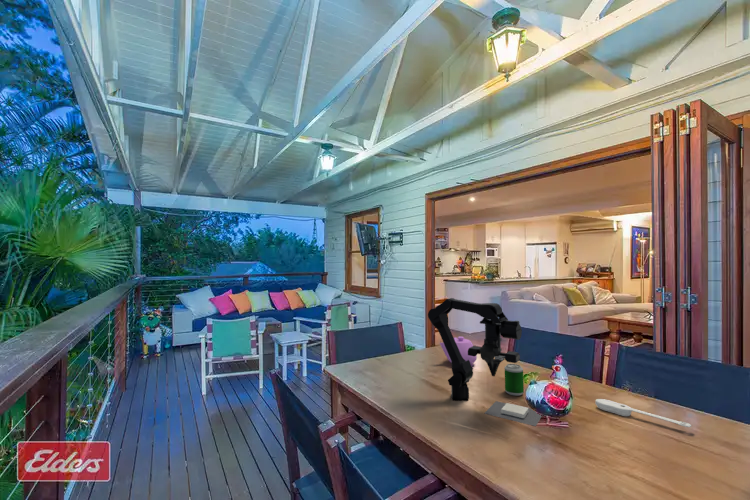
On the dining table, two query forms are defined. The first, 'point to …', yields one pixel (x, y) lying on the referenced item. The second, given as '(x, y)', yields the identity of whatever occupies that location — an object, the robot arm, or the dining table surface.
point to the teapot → (461, 349)
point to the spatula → (629, 410)
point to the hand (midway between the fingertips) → (493, 376)
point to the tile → (515, 410)
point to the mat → (529, 419)
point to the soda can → (514, 379)
